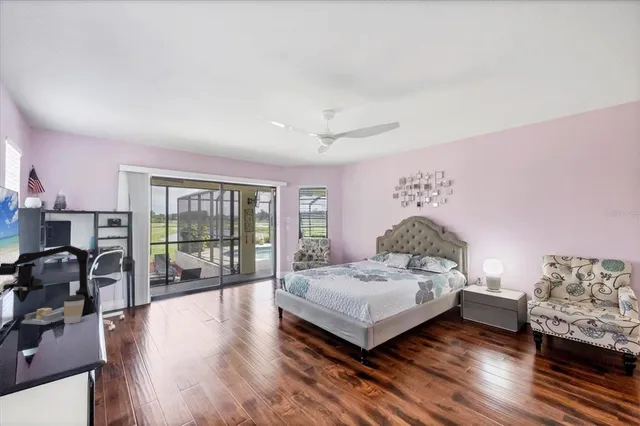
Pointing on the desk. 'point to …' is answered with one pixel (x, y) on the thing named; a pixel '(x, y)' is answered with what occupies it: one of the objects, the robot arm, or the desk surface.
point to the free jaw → (30, 316)
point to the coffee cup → (73, 308)
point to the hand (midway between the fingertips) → (22, 301)
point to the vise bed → (46, 319)
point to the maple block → (43, 313)
